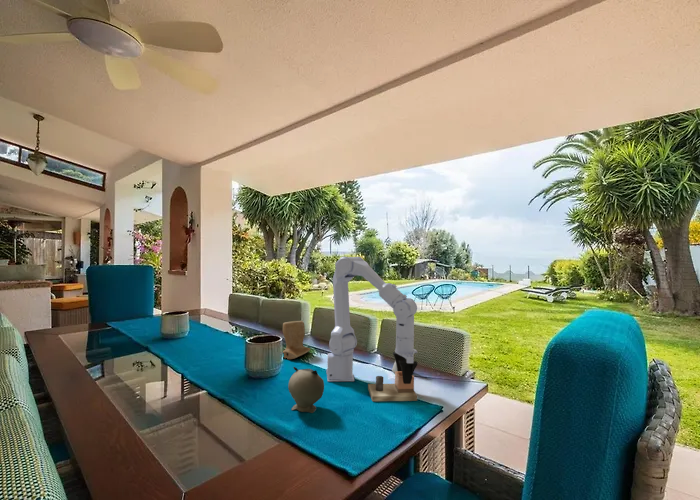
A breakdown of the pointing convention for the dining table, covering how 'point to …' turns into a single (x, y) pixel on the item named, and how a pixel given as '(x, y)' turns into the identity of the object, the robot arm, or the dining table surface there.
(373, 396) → the pin board
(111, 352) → the dining table surface
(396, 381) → the sleeve
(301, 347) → the tan wooden stand
